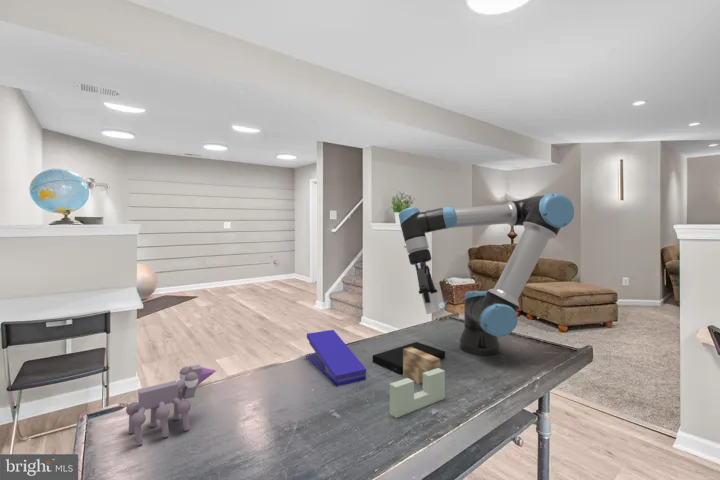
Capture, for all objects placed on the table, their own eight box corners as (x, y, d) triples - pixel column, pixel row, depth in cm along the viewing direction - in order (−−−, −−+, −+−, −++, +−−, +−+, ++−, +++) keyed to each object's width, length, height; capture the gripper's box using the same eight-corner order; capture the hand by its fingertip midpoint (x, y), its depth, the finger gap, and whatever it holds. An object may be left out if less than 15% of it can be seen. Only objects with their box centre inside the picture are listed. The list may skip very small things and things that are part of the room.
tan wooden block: (403, 375, 116) (403, 348, 115) (411, 373, 118) (411, 346, 117) (431, 391, 105) (432, 361, 105) (440, 388, 107) (440, 358, 107)
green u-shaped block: (438, 395, 103) (438, 367, 102) (444, 398, 100) (444, 370, 100) (389, 413, 92) (389, 383, 92) (395, 418, 90) (395, 387, 90)
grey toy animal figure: (212, 404, 98) (211, 356, 97) (224, 421, 89) (222, 368, 89) (126, 430, 86) (124, 375, 85) (130, 452, 77) (128, 391, 77)
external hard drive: (444, 359, 131) (444, 351, 131) (400, 376, 116) (400, 367, 116) (416, 349, 142) (416, 341, 142) (372, 363, 128) (372, 355, 127)
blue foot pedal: (331, 353, 138) (331, 328, 138) (368, 379, 114) (368, 349, 113) (303, 358, 132) (303, 332, 132) (336, 388, 108) (336, 356, 108)
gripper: (414, 258, 135) (428, 313, 130) (400, 249, 112) (416, 316, 107) (433, 253, 133) (448, 309, 128) (423, 243, 110) (440, 311, 105)
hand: (433, 312), depth 118 cm, fingers open, 13 cm apart
